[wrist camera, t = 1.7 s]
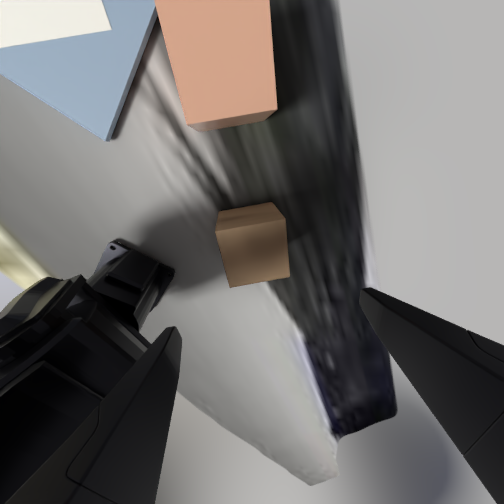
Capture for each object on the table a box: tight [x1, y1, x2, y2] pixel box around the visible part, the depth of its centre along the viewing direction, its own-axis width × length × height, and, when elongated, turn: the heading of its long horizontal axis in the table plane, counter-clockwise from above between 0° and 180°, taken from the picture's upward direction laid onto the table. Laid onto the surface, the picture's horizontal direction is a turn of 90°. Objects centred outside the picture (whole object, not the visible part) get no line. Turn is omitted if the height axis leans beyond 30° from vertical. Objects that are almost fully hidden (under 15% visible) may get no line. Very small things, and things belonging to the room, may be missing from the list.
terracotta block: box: [154, 0, 277, 132], centre depth 12 cm, size 5×5×5 cm
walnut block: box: [215, 202, 290, 288], centre depth 17 cm, size 5×5×5 cm
